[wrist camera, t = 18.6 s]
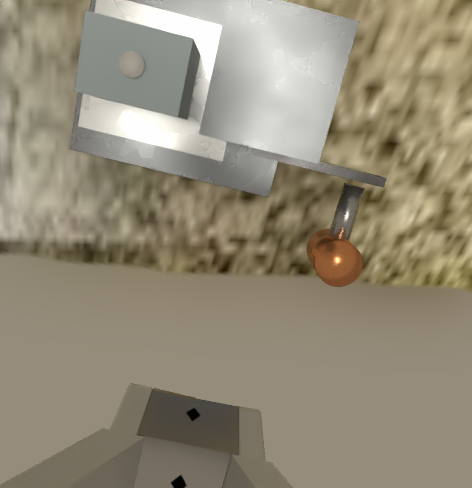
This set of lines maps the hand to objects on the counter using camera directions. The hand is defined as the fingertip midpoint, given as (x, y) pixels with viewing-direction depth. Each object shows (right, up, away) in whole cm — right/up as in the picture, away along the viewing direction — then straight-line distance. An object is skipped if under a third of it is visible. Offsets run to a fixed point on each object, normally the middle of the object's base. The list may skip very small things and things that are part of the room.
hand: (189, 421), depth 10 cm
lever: (+8, +5, +22) cm, 24 cm away
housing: (-6, +17, +24) cm, 30 cm away
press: (0, +16, +26) cm, 31 cm away
